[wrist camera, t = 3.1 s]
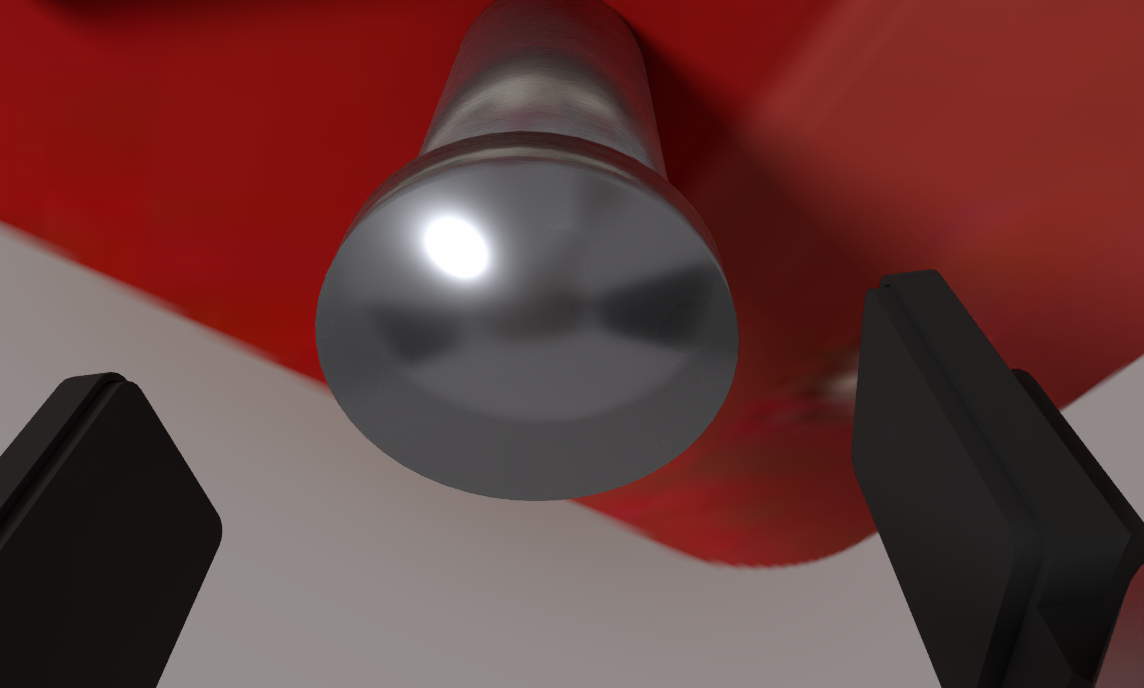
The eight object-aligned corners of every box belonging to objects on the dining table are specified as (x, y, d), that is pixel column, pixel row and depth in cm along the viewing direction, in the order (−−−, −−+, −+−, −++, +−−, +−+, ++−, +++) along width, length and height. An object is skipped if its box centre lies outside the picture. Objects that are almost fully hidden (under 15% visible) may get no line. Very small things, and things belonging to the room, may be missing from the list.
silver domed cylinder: (658, -61, 16) (733, 136, 8) (676, 178, 19) (742, 483, 11) (404, -20, 17) (246, 202, 9) (463, 206, 20) (386, 516, 12)
